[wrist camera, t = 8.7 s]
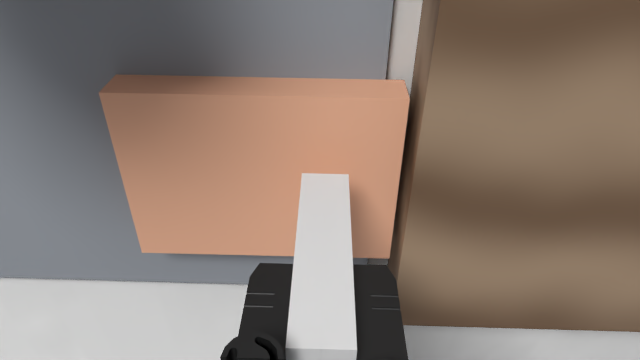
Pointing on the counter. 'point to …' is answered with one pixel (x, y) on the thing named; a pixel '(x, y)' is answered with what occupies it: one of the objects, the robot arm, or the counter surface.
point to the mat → (92, 130)
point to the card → (253, 157)
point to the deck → (522, 167)
